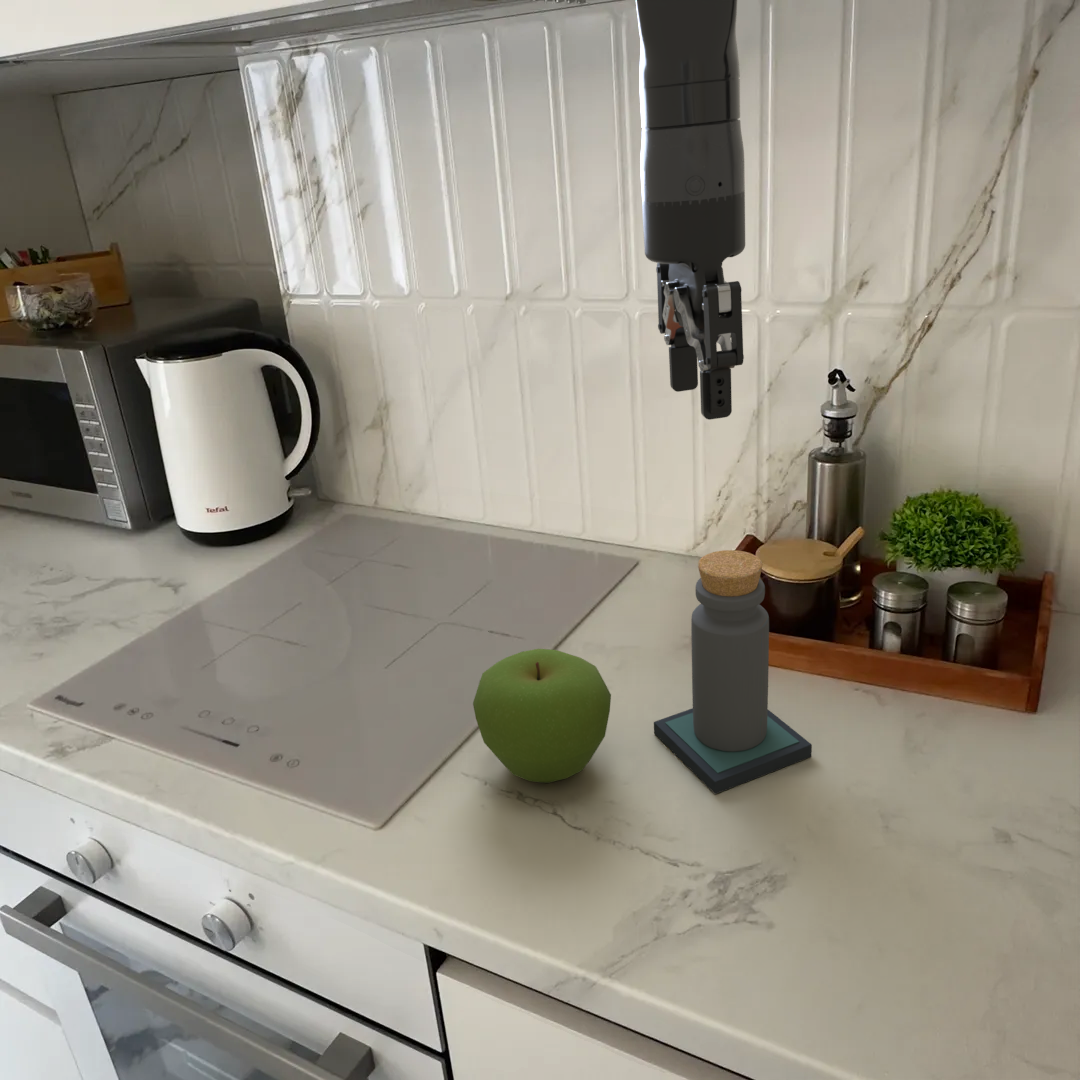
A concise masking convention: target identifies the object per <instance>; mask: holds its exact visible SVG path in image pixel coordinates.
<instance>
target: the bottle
mask: <svg viewBox="0 0 1080 1080" xmlns="http://www.w3.org/2000/svg"><path fill="white" fill-rule="evenodd" d="M697 568H698V572H699V576H700V578H698V580H697V581H696V583H695V598H696V600H697V601H698V602H699V603H700V604H698V605H697V606H696V607H695V608H694V609H693V610H692V613H691V629H690V631H691V636H690V637H691V679H692V680H691V688H692V690H691V691H692V692H691V693H692V708H693V726H694V733H695V735H696V737H697V738H698V739H699V741H701V742H702V743H703V744H705V745H706V746H708V747H711V748H713V749H717V750H721V751H731V752H736V751H743V750H748V749H751V748H753V747H755V746H757V745H758V744H760V743H761V742H762V741H763V740H764V738H765V736H766V732H767V713H768V710H769V668H770V667H769V666H770V665H769V664H770V662H769V661H770V660H769V659H770V657H769V655H770V652H769V651H770V617H769V613H768V611H767V610H766V609H765V608H764V607H763V606H762V605H761V604H762V602H763V601H764V599H765V594H766V586H765V583H764V582H763V580H762V579H761V573H762V570H763V562H762V560H761V558H760V557H758V556H757V555H755V554H754V553H751V552H747V551H742V550H737V549H735V550H734V549H725V550H717V551H713V552H709V553H707V554H705V555H703V556H702V557H701V558H700V559H699V560H698V562H697Z"/></svg>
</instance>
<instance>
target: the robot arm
mask: <svg viewBox="0 0 1080 1080" xmlns="http://www.w3.org/2000/svg"><path fill="white" fill-rule="evenodd" d="M635 5H636V6H635V7H636V14H637V15H636V16H637V23H638V32H639V38H640V39H639V40H640V55H639V103H640V120H641V121H640V122H641V128H642V129H641V144H640V157H639V158H640V159H639V160H640V161H639V163H640V167H639V168H640V187H641V205H642V206H641V208H642V210H641V211H642V226H643V227H642V228H643V247H644V255H645V258H646V259H648V261H650V262H652V263H656V268H655V272H656V285H657V288H656V289H657V314H658V315H657V318H658V324H657V329H658V330H659V333H660V334H662V335H663V334H664V335H663V340H664V342H665V345H666V346H668V360H669V361H668V362H669V380H670V381H669V383H670V384H669V385H670V388H671V389H672V390H673V391H674V392H685V391H686V392H687V391H693V390H696V389H697V388H698V386H699V388H700V389H699V390H700V391H699V392H700V413H701V415H702V417H704V418H705V419H706V420H716V419H723V418H728V417H729V416H730V415H731V414H732V411H733V410H732V406H733V402H732V369H734V368H735V367H738V366H742V365H743V364H744V359H745V355H744V334H743V333H744V332H743V331H744V330H743V306H742V305H743V304H742V291H743V289H742V286H741V282H740V281H738V280H736V281H735V280H734V281H728V282H727V281H726V280H725V276H724V269H723V263H724V261H725V260H726V259H728V258H733V257H737V256H738V255H740V254H742V252H744V250H745V249H746V190H745V189H746V184H745V178H746V177H745V172H746V171H745V149H744V142H743V136H742V135H743V134H742V125H741V119H740V118H741V79H740V77H741V73H740V60H739V59H740V58H739V50H738V49H739V48H738V43H737V32H736V31H737V13H738V0H635ZM717 344H719V345H720V350H718V345H717ZM698 368H699V369H698ZM698 370H699V371H698ZM698 372H699V373H698Z"/></svg>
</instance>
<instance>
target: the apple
mask: <svg viewBox="0 0 1080 1080" xmlns="http://www.w3.org/2000/svg"><path fill="white" fill-rule="evenodd" d="M607 686H608V685H607V684H606V682H605V680H604V679H603V677H602V674H601V673H600V671H599V670H598V667H597V666H596V665H595V664H593V663H591V662H590V661H588V660H586V659H584V658H582V657H580V656H576V655H574V654H570V653H568V652H564V651H561V650H557V649H549V648H548V649H547V648H536V649H535V648H534V649H528V650H524V651H520V652H517V653H515V654H511V655H509V656H507V657H504V658H502V659H501V660H498V661H497V662H495V663H494V664H493V665H491V666H490V667H489V668H487V669H486V670H485V671H483V672H482V675H481V677H480V679H479V683H478V686H477V688H476V691H475V692H476V693H475V695H474V699H473V702H472V707H473V711H474V712H473V713H474V715H475V716H474V717H475V720H476V723H477V726H478V729H479V733H480V735H481V738H482V741H483V743H484V745H486V747H487V748H488V749H489V750H490V751H491V752H492V753H493V755H494V756H495V757H496V758H497V759H498V761H500V763H501V764H502V765H503V766H504V767H505V768H506V769H507V770H508V771H509V772H510V773H511V774H512V775H513V776H515V777H518V778H520V779H523V780H525V781H528V782H533V783H540V784H541V783H543V784H548V783H553V782H557V781H561V780H562V781H563V780H565V779H568V778H570V777H572V776H574V775H576V774H578V773H580V772H582V771H583V770H584V769H585V767H586V766H587V765H588V763H590V761H591V760H592V758H593V756H594V754H595V753H596V751H597V750H598V748H599V747H600V745H601V743H602V742H603V740H604V739H605V737H606V733H607V728H608V722H609V718H610V712H611V701H612V693H611V692H610V690H609V688H608V687H607Z"/></svg>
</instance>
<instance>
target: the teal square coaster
mask: <svg viewBox="0 0 1080 1080" xmlns="http://www.w3.org/2000/svg"><path fill="white" fill-rule="evenodd" d="M653 734H654V735H655V736H656V737H657V738H658V739H659V740H660V741H661V743H663V744H664V745H665V746H666V747H667V748H668V749H669V750H670V751H671V752H672V753H673V754H674V755H675V756H676V757H677V758H678V759H679V760H680V761H681V762H682V763H683V764H684V765H685V766H686V767H687V768H688V769H689V770H690V771H691V772H692V773H693V774H695V776H696V777H697V778H698V779H699V780H700V781H701V782H702V783H703V784H704V785H705V786H706V787H707V788H708V789H709V790H710V791H711V792H712V793H713V794H714V795H717V794H720V793H722V792H725V791H727V790H729V789H732V788H735V787H738V786H740V785H743V784H746V783H747V782H750V781H752V780H755V779H758V778H760V777H763V776H765V775H768V774H770V773H773V772H776V771H778V770H781V769H783V768H786V767H789V766H791V765H793V764H797V763H799V762H801V761H804V760H806V759H809V758H811V757H812V750H813V744H812V743H811V742H810V741H808V740H807V739H805V738H804V737H803V736H802V735H800V733H798V732H797V731H796V730H795V729H793V728H792V727H791V726H790V725H788V724H787V723H785V722H784V721H783V720H782V719H781V718H779V716H777V715H776V714H775V713H773V712H772V711H771V710H769V709H768V713H767V732H766V736H765V738H764V740H763V741H762V742H761V743H760V744H758V745H757V746H755V747H753V748H751V749H748V750H743V751H736V752H731V751H721V750H717V749H713V748H711V747H708V746H706V745H705V744H703V743H702V742H701V741H699V739H698V738H697V737H696V735H695V733H694V726H693V707H692V708H689V709H686V710H684V711H681V712H678V713H675V714H672V715H670V716H667V717H664V718H661V719H658V720H655V721H653Z"/></svg>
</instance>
